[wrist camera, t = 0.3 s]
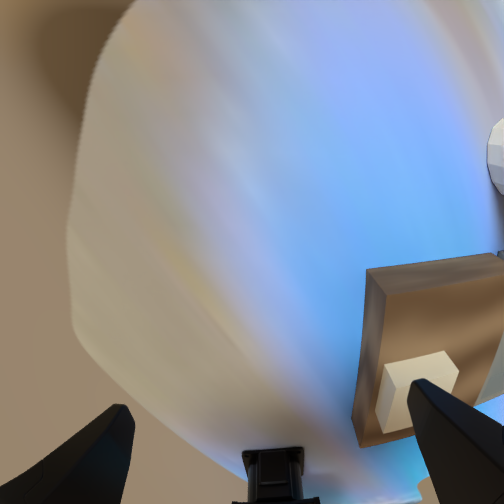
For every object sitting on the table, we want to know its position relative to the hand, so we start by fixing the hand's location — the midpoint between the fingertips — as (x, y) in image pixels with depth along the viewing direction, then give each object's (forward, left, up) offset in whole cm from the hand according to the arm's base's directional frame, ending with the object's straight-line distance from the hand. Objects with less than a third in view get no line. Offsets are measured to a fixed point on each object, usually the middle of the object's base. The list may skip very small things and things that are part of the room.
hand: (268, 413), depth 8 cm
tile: (-10, -10, -9) cm, 17 cm away
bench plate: (-10, -13, -13) cm, 21 cm away
